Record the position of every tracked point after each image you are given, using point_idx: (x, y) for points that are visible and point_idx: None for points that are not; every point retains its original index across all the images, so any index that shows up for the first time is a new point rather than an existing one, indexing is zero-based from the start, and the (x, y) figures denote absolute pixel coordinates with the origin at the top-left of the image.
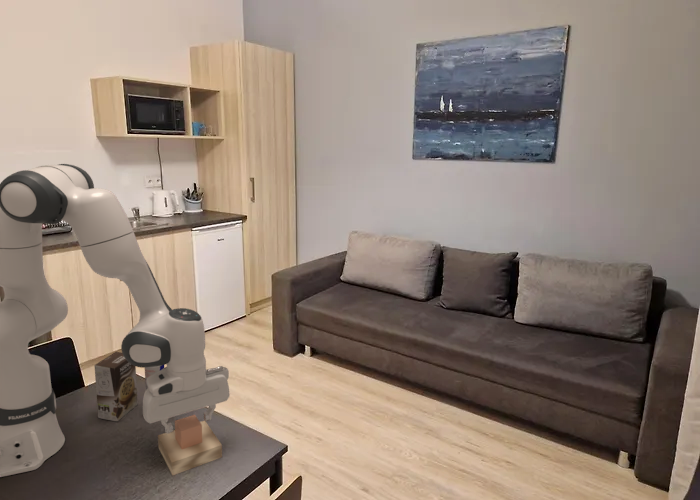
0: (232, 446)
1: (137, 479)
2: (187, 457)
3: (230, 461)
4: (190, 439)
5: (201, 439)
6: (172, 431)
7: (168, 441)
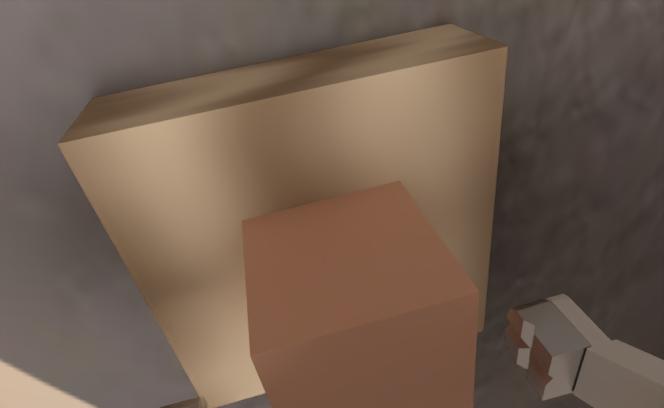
0: (13, 193)
1: (614, 67)
2: (381, 72)
3: (8, 18)
4: (347, 234)
5: (248, 236)
6: (523, 310)
7: None
